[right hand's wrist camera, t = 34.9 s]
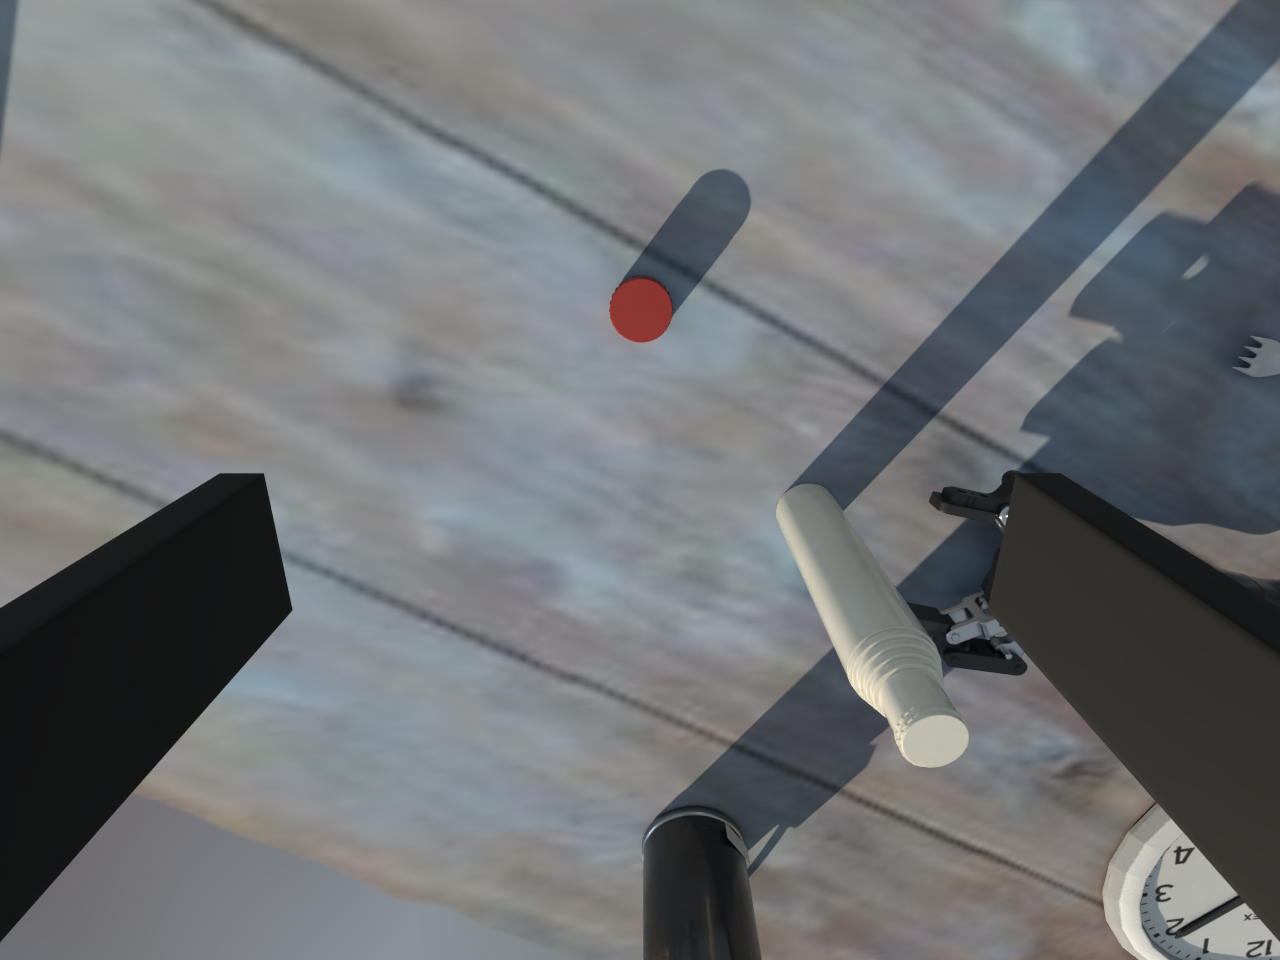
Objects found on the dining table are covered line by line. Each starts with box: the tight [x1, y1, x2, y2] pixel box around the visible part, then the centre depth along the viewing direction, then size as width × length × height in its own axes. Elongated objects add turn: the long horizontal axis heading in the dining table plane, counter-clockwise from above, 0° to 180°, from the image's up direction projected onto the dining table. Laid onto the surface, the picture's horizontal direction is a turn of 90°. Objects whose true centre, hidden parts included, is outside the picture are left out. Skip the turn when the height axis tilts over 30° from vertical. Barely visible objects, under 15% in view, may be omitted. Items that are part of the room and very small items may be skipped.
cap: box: [609, 275, 673, 342], centre depth 45 cm, size 4×4×2 cm
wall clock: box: [1102, 803, 1280, 960], centre depth 64 cm, size 30×2×30 cm
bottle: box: [776, 483, 969, 767], centre depth 40 cm, size 4×4×24 cm
